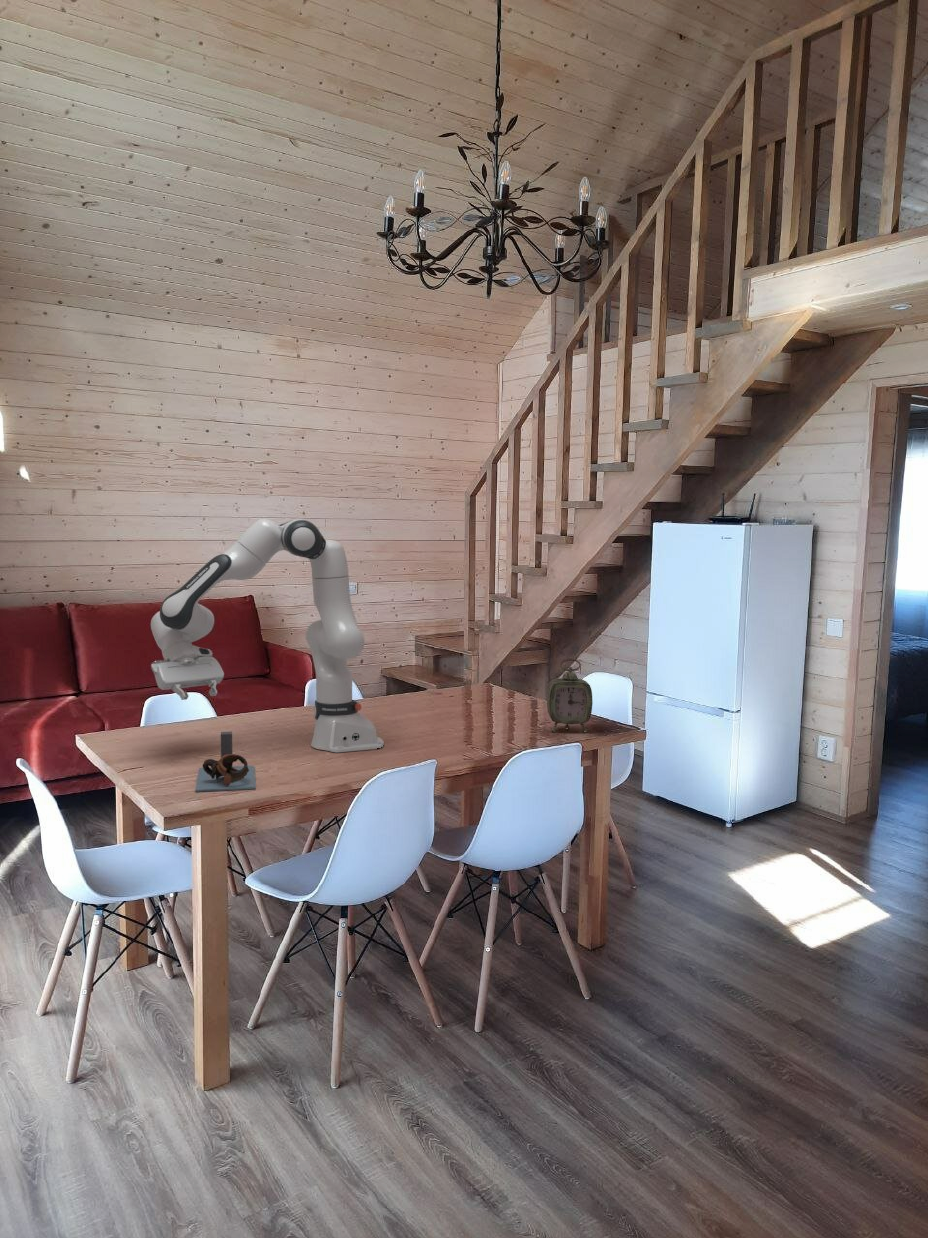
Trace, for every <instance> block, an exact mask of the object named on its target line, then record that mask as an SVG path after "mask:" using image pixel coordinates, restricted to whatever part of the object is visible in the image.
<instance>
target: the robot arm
mask: <svg viewBox="0 0 928 1238" xmlns="http://www.w3.org/2000/svg"><path fill="white" fill-rule="evenodd" d="M282 551H286V552H288V553H290V555H293V556H295V557H296V556H297V557H300V558H305V559H308V560H309V563H310V566H311V567H310V568H311V579H312V582H311V583H312V593H313V594H312V595H313V603H314V606H315V608H316V609H317V612H318V614H319V617H320V619H317V620H316V621H313V622H312V623H310V624H309V626H308V627H307V628H306V633H305V640H306V643H307V645H308V646H309V649H310V652H311V656H312V662H313V666H314V672H315V679H316V680H315V682H316V683H315V684H316V686H315V689H316V690H315V691H316V693H315V697H316V699H315V701H314V706H313V707H314V713H313V714H314V719H315V723H314V730H313V736H312V740H311V742H310V746H311V748H313V749H317V750H323V751H328V752H332V753H345V752H348V753H349V752H356V751H357V752H359V751H368V750H369V751H370V750H377V748H380V749H382V748H383V747H384V746H383V745H384V744H385V743H384V740H383V738H381V737H380V736H377V730H376V726H375V724H374V723H373V722H372V721H371V720H370V719H368V718H367V717H366V716H364V714H362V713H360V712H359V711H362V705H361V704H360V703H359V702H358V701H356V700H354V699H353V675H352V672H351V671H350V668H349V665H348V662H347V660H350V659H353V658H357V657H358V656H359V655H360V654H361V653H362V652H363V650H364V647H365V643H366V642H365V641H366V640H365V636H364V634H363V633H362V631H361V629H360V627H359V625H358V623H357V619H356V616H355V613H354V609H353V605H352V601H351V593H350V591H351V590H350V578H349V567H348V560H347V556H346V555H347V554H346V551H345V548H344V546H343V544H342V543H340V542H339V541H338V540H335V539H325V537H324V536H323V534H322V533H321V531H320V530H319V528H318V527H317V526H316V525H315V524H314V523H312V522H311V521H309V520H307V519H305V518H295V519H292V520H289V521H286V522H283V523H281V524H278V523H276V522H275V521H274V520H271V519H268V518H260V519H258V520H256V521H255V522H254V523H252V524H251V525H250V526H249V527H248V528H247V529H246V530H244V532H243V533H242V534H241V535H240V536H239V537H238V538H237V539H236V540H235V542H234V543H233V544H232V545H230V547H229V548H227V549H226V550H225V551H223V552H222V553H220V554H218V555H216V556H214V557H213V558H211V560H209V561H208V562H207V563H206V564H204V565H203V566H202V567H201V568H200V569H199V570H198V571H197V572H196V573H195V574H194V575H193V576H192V577H190V579H188V580H187V582H185V583H184V584H183V585H182V586H181V587H180V588H178V589H177V590H176V591H174V592H172V593H171V594H169V595H168V596H166V597H165V598H164V599H163V601H162V602H161V605H160V607H159V611H157V612H156V613H155V614H154V615H153V616H152V618H151V621H150V629H151V632H152V636H153V638H154V640H155V642H156V645H157V647H158V648H159V649H160V650H161V654H162V657H163V659H160V660H154V661H153V662H151V664H150V668H151V670H152V672H153V675H154V678H155V681H156V684H157V687H158V688H159V689H161V690H162V691H166V690H172V691H173V693H175V694H177V695H178V696H179V697H180V699H181V700H182V701H183V700H184V701H186V700H187V699H189V694H188V692H187V691H184V690H183V689H185V688H191V687H200V686H208V687H209V688H210V689H209V691H208V693H209V695H210V697H214V696H217V694H218V690H217V684H218V685H219V684H220V683H221V682H222V681H223V680H224V678H225V672H224V670H223V668H222V666H221V664H220V663H219V661H218V660H217V659H216V658H215V657H213V651H212V650H211V649H209V648H204V647H200V646H197V645H194V644H192V643H194V642H197V641H199V640H201V639H202V638H203V639H204V637H206V636H208V635H209V634H210V633H211V632H212V631H213V629H214V627H215V621H216V619H215V615H214V613H213V612H212V610H211V609H209V608H208V607H206V606H204V605H202V604H200V603H199V601H200V600H201V599H203V597H205V595H206V594H208V593H209V592H210V591H211V590H212V589H213V588H214V587H215V586H216V585H217V584H218V583H221V582H223V581H229V580H237V581H244V580H247V581H248V580H251V579H252V578H254V577H255V576H257V575H259V573H260V572H261V571H262V570H263V569H264V567H265V566H266V565H267V564H268V563H269V562H270V560H271V559H272V558H273V557H274V556H275V555H276V554H277V553H279V552H282ZM381 747H382V748H381Z"/></svg>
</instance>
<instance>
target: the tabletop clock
mask: <svg viewBox="0 0 928 1238" xmlns="http://www.w3.org/2000/svg"><path fill="white" fill-rule="evenodd" d="M566 661H568V662H569V661H570V662H571V661H572V662H576V663H577V664H578V667H575V668H572V666H569V667H568V668H565V667H563V665H562V664H563V663H564V662H566ZM559 667H560V669H562V670H564V671H565V672H564V673H563V674H562V677H561V678H555V679H552V680H550V681H549V684H548V688H547V692H546V707H547V713H548V716H549V718H550V719H551V721H552V722H553V723H554V726H553V727H552V728H551V729H550V732H552V731H553V732H552V733H556V732H557V729H556V728H557V726H558V724H563V725H565V726H564V729H565V728H569V729H570V726H569V725H578V724H579V725H580V726H581V728H582V732H583V731H587V732H588V728H586V727H585V726H584V725H585V723H588V722H589V721H590V719H591V717H592V713H593V712H592V711H593V702H594V701H593V691H592V687H591V685H590V683H588V681H587V680H585V679H581V678H578V675H577V674H576V673H575V671H578V670H579V669H581V662H580V661H579V660H578V659H576V658H565V659H563V660H561V662H560V663H559Z"/></svg>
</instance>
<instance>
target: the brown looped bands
mask: <svg viewBox="0 0 928 1238" xmlns="http://www.w3.org/2000/svg"><path fill="white" fill-rule="evenodd" d="M237 761H240V763H241V764H243V766H244V768H243V769H241V770H237V769H234V768H232V767H231V766H233V764H234V763H236V762H237ZM201 766H202V767H201V768H203V769H204V771H205V772H206V773H207V774H209V775H210V776H211V777H212V779H214V778H215V775H216V779H218V778H219V777H221V776H224V781H223V785H225V786H229V785H230V783H233V782H236V781H238V780H241V779H243V778H244V776H246V775H247V773H248V771H249V769H248V766H249V765H248V761H247V759H246V757H245V758H244V756H242V755H240V754H237V753H232V754H227V755H224V756H222V757H221V756H220V759H219V760H215V759H212V758H209V759H205V760H204V762H203V764H202V765H201ZM210 767H211V768H212V769H211V768H210Z"/></svg>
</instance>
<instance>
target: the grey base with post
mask: <svg viewBox="0 0 928 1238" xmlns="http://www.w3.org/2000/svg"><path fill="white" fill-rule="evenodd" d="M227 754H233V731H221V732H220V758H221V757H222V756H224V755H227ZM247 766H248V769H249V771H248V773H247V775H246V776H244V778H243V779H241V780H238V781H236V782H233V783H230V785H229V786H225V785H223V781H224V776H221V777H219V778H218V779H216V775H215V778H214V779H212V777H211V776H210V775H209V774H207V773H206V772H205V771H204V769H203V767H199V768H198V771H197V772H198V773H197V779H196V784H195V791H194V792H195V793H201V792H202V793H204V792H221V791H222V792H223V791H224V792H225V791H240V790H243V791H244V790H256V773H255V772H256V770H255V768H256V767H255V765H247ZM209 767H210V766H209ZM231 767H232V768H234V769H237V770H241V769H243V768H244V765H236V766H235V765H232V766H231ZM210 768H211V767H210ZM211 769H212V768H211Z"/></svg>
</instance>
